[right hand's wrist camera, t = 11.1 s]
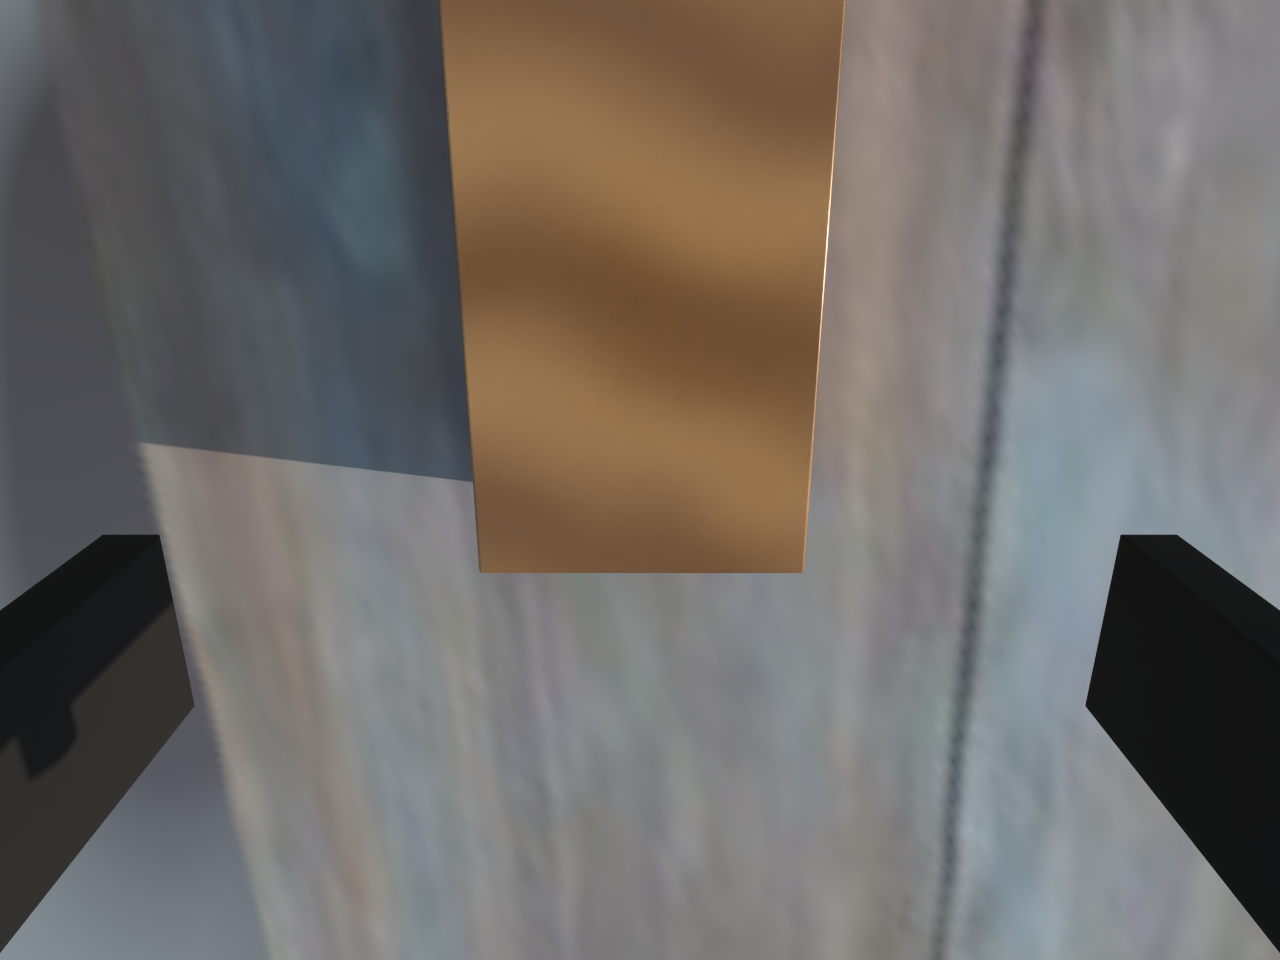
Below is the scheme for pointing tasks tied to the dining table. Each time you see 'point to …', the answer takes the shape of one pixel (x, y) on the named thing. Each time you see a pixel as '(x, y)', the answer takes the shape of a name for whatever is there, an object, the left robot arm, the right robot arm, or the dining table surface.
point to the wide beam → (641, 275)
